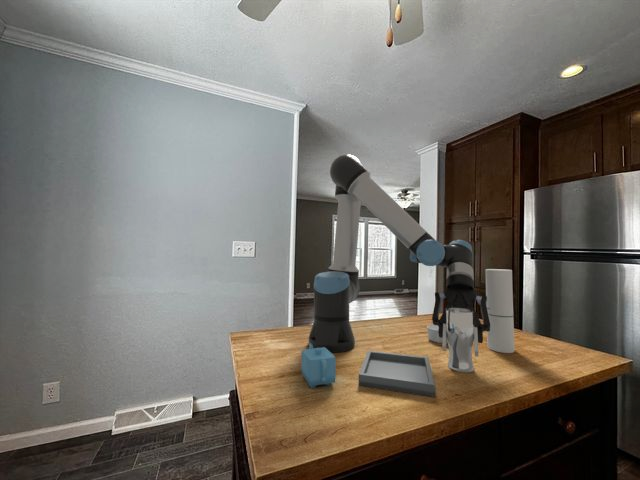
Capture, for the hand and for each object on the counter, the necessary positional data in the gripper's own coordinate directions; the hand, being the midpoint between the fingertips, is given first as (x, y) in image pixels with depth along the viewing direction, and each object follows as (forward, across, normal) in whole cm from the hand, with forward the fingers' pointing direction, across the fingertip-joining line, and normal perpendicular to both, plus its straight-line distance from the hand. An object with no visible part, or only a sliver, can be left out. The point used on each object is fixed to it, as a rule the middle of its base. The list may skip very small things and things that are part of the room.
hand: (460, 350), depth 68 cm
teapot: (+19, +30, +10) cm, 37 cm away
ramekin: (-15, +6, -23) cm, 28 cm away
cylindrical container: (-14, -11, -22) cm, 29 cm away
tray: (+10, +14, +3) cm, 18 cm away
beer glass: (+1, 0, -6) cm, 7 cm away
